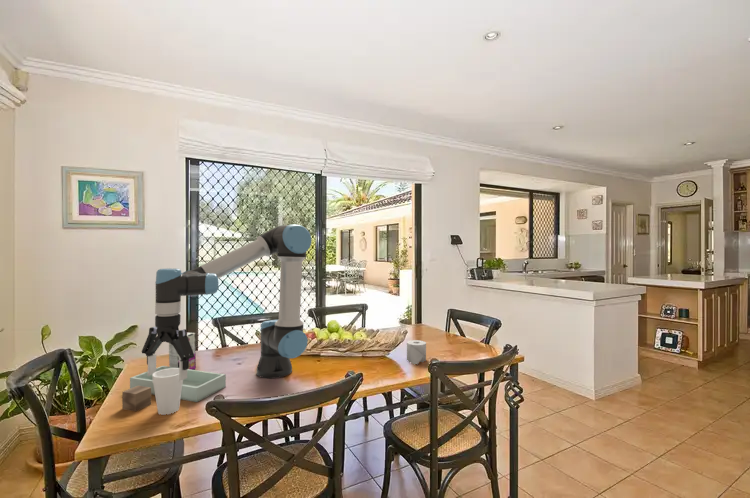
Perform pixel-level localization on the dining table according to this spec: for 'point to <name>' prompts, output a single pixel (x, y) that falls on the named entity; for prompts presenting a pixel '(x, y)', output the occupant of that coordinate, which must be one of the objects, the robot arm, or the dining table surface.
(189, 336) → the candy bar box
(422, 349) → the toilet tissue
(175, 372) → the foam cup
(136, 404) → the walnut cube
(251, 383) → the dining table surface
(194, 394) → the tote
